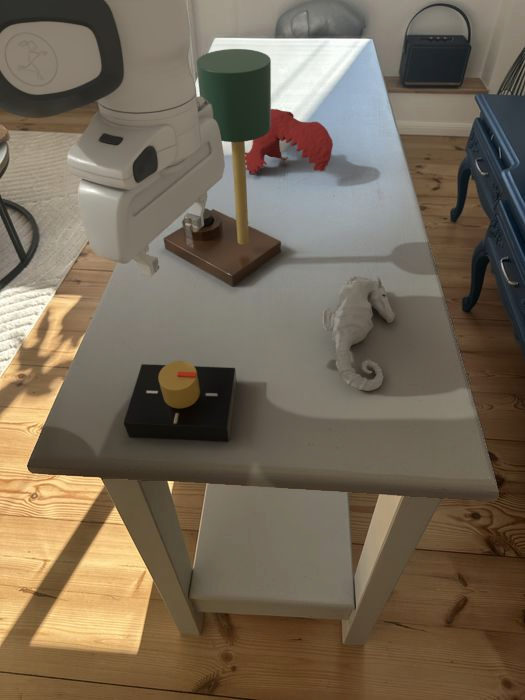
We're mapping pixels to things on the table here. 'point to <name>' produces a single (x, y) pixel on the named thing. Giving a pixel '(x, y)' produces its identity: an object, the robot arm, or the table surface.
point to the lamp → (238, 109)
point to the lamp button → (207, 218)
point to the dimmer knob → (179, 384)
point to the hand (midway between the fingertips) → (173, 249)
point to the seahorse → (357, 326)
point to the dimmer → (183, 423)
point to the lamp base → (223, 248)
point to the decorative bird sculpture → (305, 134)
